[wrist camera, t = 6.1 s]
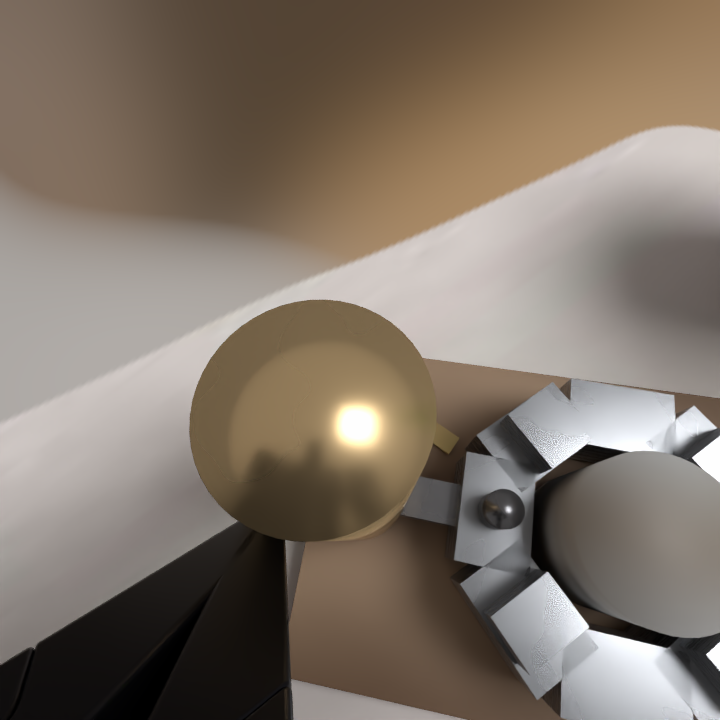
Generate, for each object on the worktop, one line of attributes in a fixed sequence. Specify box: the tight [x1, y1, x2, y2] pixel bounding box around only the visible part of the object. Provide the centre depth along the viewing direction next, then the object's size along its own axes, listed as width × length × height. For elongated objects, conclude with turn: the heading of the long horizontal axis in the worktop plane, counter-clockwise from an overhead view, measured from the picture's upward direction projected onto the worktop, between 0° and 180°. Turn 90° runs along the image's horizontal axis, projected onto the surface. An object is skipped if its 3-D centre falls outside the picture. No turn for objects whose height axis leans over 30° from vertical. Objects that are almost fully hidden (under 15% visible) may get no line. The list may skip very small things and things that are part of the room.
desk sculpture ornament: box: [189, 300, 720, 720], centre depth 10 cm, size 9×14×10 cm, turn 78°
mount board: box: [289, 358, 720, 720], centre depth 13 cm, size 11×14×5 cm
